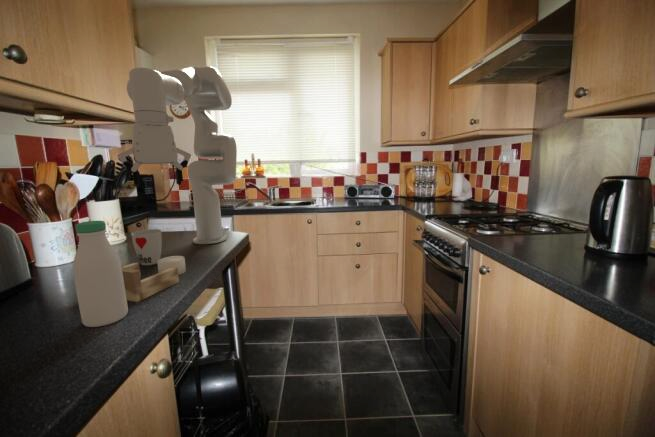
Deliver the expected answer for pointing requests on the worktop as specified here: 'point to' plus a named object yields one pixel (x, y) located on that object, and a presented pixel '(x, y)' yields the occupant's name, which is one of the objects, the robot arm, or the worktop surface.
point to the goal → (146, 282)
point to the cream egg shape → (172, 264)
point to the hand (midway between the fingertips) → (159, 185)
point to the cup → (147, 245)
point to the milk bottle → (98, 277)
